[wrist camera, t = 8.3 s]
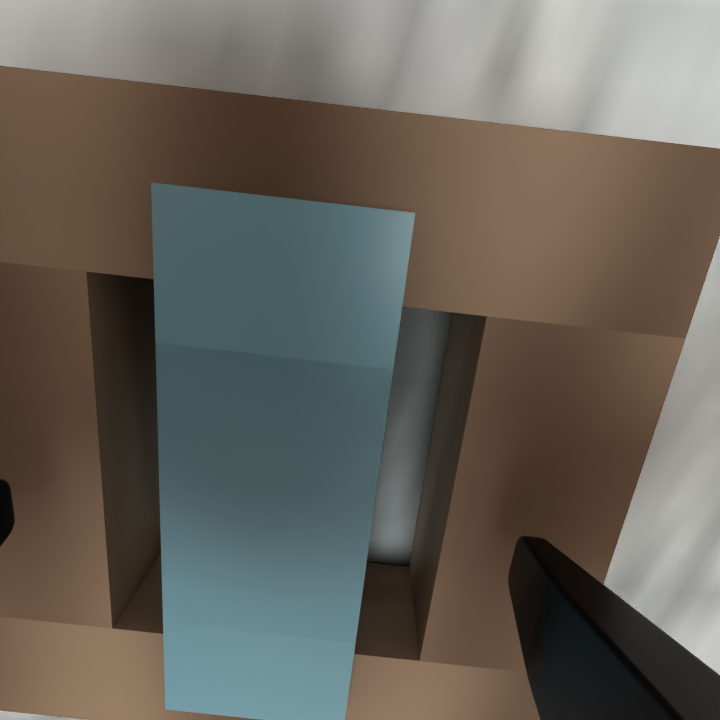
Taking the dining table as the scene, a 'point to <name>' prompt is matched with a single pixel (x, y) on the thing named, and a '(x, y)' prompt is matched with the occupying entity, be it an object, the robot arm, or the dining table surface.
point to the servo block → (269, 440)
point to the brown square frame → (422, 291)
